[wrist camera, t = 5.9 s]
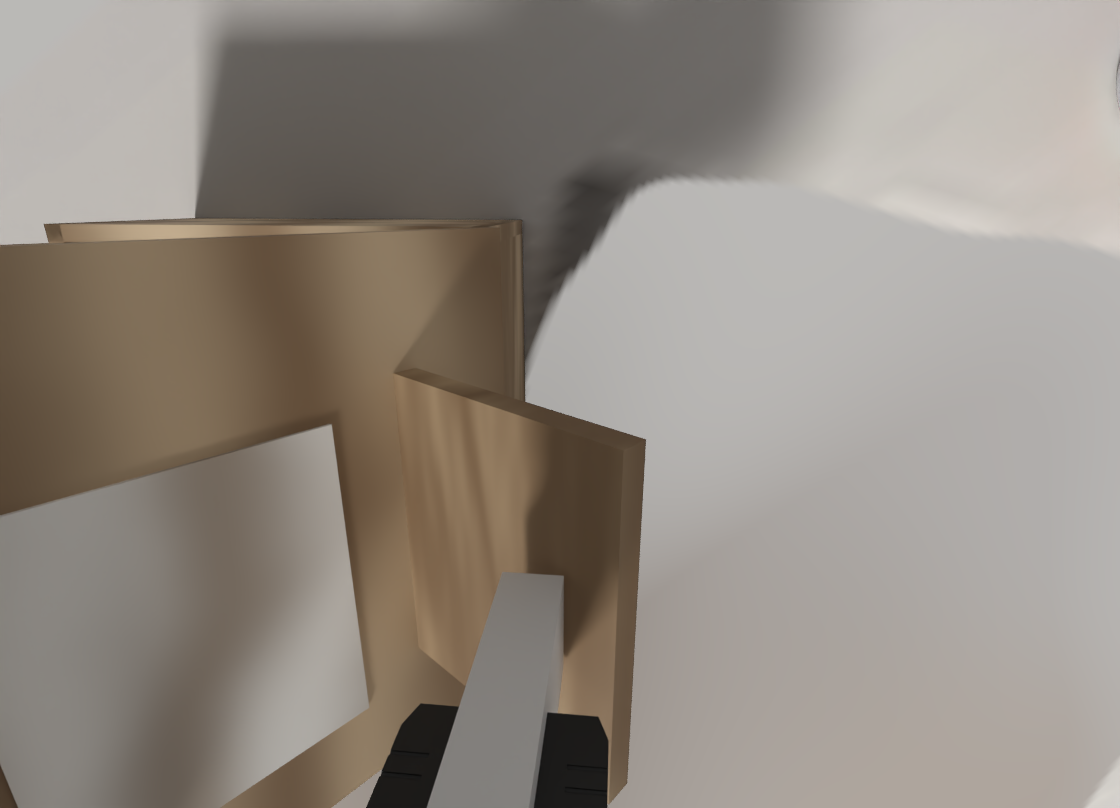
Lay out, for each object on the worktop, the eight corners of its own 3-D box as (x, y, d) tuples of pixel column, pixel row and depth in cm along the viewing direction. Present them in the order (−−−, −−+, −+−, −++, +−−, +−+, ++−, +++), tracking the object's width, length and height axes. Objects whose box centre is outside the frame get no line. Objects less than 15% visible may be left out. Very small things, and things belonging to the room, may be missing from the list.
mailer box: (255, 541, 34) (155, 637, 27) (193, 218, 28) (43, 224, 21) (527, 554, 33) (503, 658, 26) (522, 219, 27) (488, 226, 20)
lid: (11, 1026, 14) (103, 1589, 8) (-377, 258, 8) (-952, 392, 3) (503, 661, 25) (685, 796, 20) (487, 226, 19) (742, 238, 14)
